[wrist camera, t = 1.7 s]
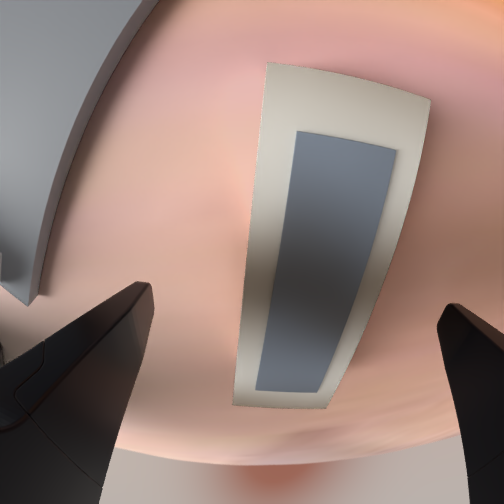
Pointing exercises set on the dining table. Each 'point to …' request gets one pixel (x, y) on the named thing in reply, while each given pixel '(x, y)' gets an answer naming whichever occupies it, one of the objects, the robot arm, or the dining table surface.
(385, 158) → the frame
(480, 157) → the dining table surface
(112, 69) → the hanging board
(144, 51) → the dining table surface
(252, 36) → the dining table surface
